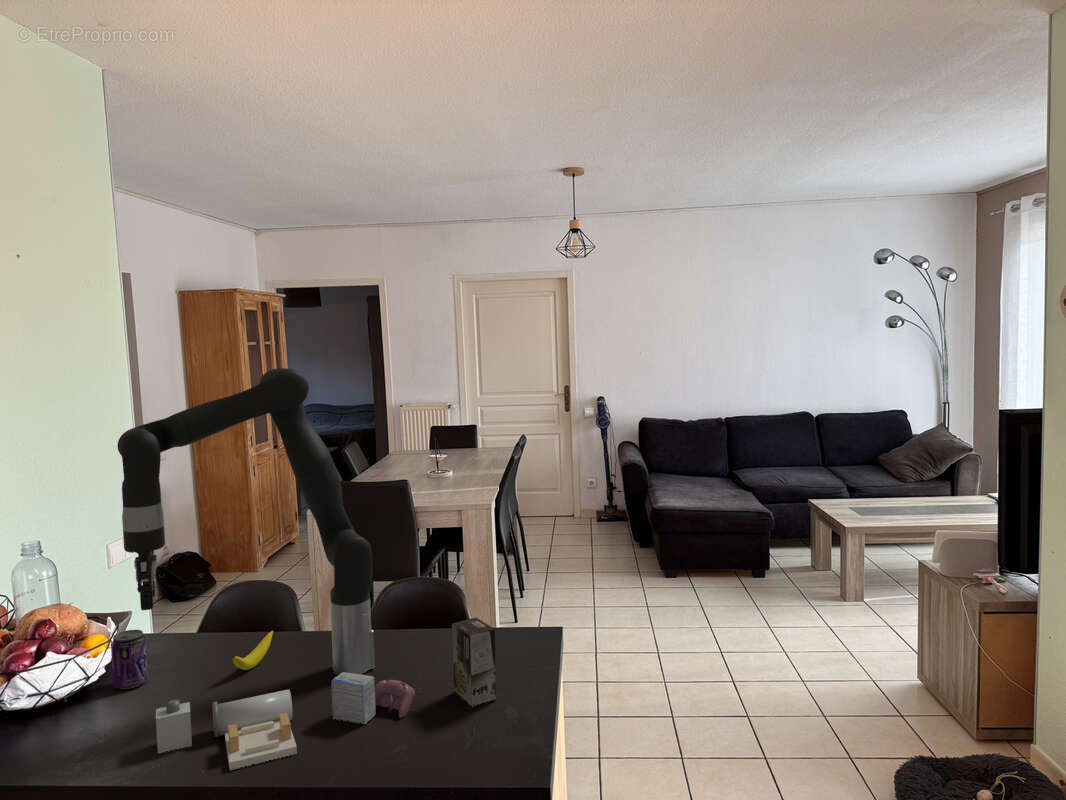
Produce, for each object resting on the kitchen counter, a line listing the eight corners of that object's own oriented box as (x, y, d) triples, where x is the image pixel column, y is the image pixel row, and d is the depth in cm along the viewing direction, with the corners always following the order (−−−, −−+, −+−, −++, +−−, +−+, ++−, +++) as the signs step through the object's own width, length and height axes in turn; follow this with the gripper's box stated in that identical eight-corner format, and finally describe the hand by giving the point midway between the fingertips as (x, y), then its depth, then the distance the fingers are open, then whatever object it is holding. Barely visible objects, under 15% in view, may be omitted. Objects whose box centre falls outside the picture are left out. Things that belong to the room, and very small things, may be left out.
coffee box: (497, 700, 163) (496, 628, 162) (471, 708, 160) (469, 635, 159) (478, 684, 171) (476, 616, 170) (452, 692, 168) (451, 622, 167)
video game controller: (412, 719, 159) (420, 684, 161) (401, 718, 155) (409, 683, 158) (374, 710, 163) (382, 676, 166) (362, 709, 159) (370, 675, 162)
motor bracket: (288, 711, 160) (287, 681, 160) (302, 752, 144) (301, 719, 143) (213, 727, 154) (212, 696, 153) (219, 773, 137) (217, 738, 137)
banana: (278, 649, 193) (277, 625, 193) (239, 682, 175) (238, 655, 174) (268, 648, 194) (267, 624, 193) (228, 681, 175) (226, 655, 174)
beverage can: (133, 692, 170) (130, 641, 169) (106, 690, 171) (103, 639, 170) (154, 679, 177) (152, 629, 176) (128, 676, 178) (125, 627, 177)
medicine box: (376, 715, 158) (375, 675, 157) (365, 725, 154) (363, 685, 153) (344, 710, 160) (342, 670, 160) (332, 720, 156) (330, 679, 156)
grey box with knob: (191, 735, 151) (189, 694, 150) (191, 746, 147) (189, 703, 146) (158, 742, 148) (155, 700, 148) (157, 753, 144) (155, 710, 144)
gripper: (162, 531, 148) (167, 611, 150) (165, 516, 161) (169, 590, 163) (119, 536, 145) (125, 617, 147) (125, 520, 158) (130, 595, 159)
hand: (148, 602), depth 155 cm, fingers open, 8 cm apart
